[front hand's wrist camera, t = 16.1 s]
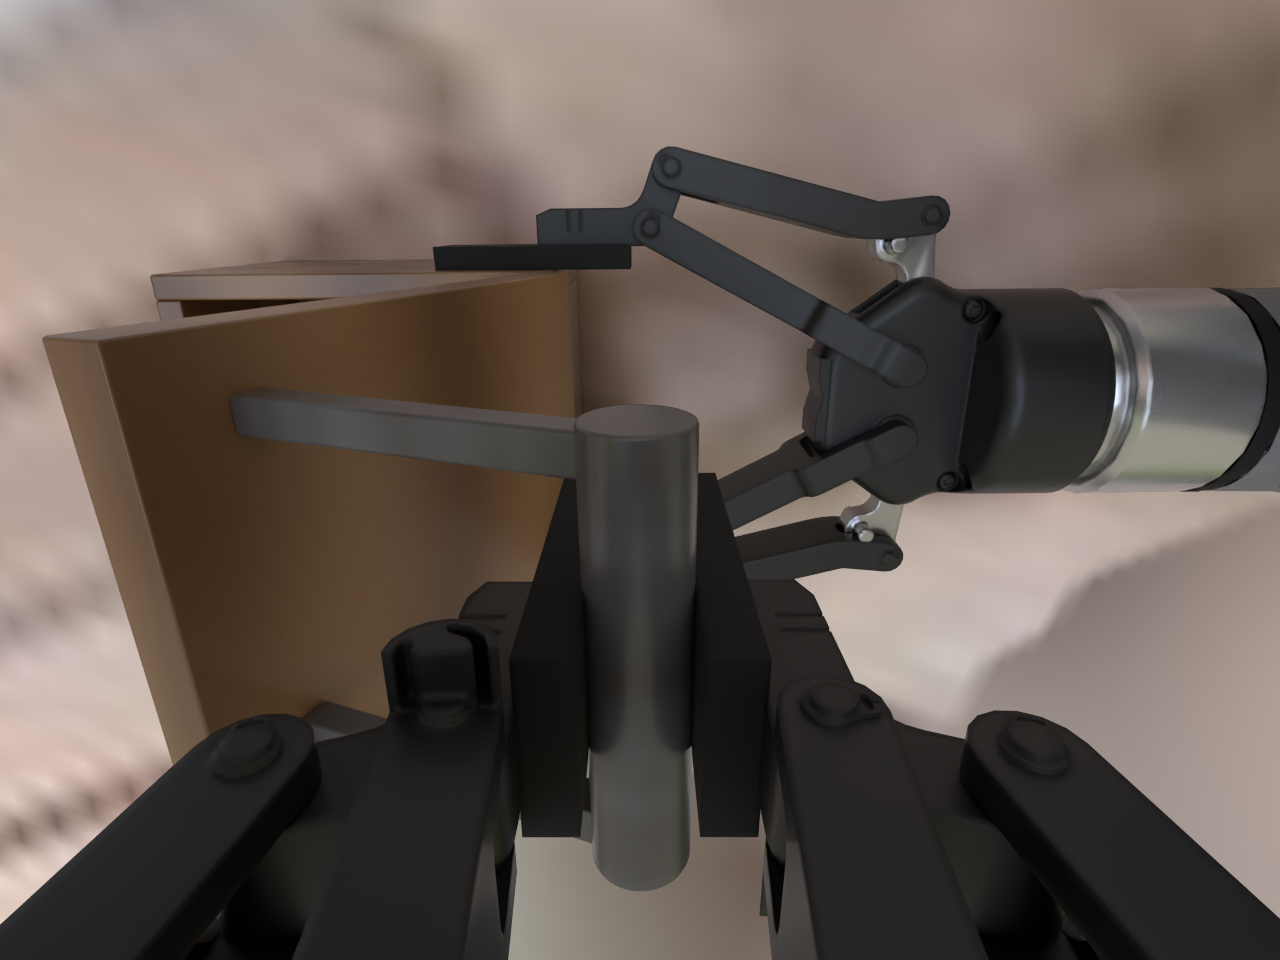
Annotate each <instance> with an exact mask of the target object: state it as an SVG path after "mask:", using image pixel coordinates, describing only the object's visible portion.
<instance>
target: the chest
mask: <svg viewBox="0 0 1280 960" xmlns="http://www.w3.org/2000/svg"><path fill="white" fill-rule="evenodd" d="M534 272H550V273H568V280H569V303H570V326H571V349H572V372H573V396H574V418H577V417H579V416H580V415H582V414H583V401H582V375H581V349H580V323H579V297H578V271H577V270H555V269H543V270H435V262H434V260H347V261H279V262H269V263H260V264H250V265H240V266H231V267H221V268H211V269H202V270H192V271H183V272H173V273H163V274H154V275H151V277H150V278H151V282H152V286H153V290H154V294H155V298H156V300H159V301H157V307H158V311H159V315H160V319H161V321H164V320H172V319H179V318H187V317H195V316H202V315H210V314H218V313H225V312H233V311H241V310H249V309H256V308H264V307H272V306H279V305H287V304H295V303H302V302H310V301H318V300H326V299H333V298H341V297H349V296H356V295H364V294H372V293H379V292H387V291H395V290H403V289H410V288H418V287H426V286H433V285H441V284H449V283H456V282H464V281H472V280H480V279H487V278H495V277H503V276H510V275H518V274H526V273H534Z"/></svg>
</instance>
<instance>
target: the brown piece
mask: <svg viewBox="0 0 1280 960" xmlns="http://www.w3.org/2000/svg"><path fill="white" fill-rule="evenodd" d="M42 340H43V344H44V347H45V350H46V353H47V357H48V360H49V363H50V366H51V370H52V373H53V376H54V379H55V383H56V386H57V389H58V392H59V396H60V399H61V402H62V405H63V409H64V412H65V415H66V418H67V422H68V425H69V428H70V432H71V435H72V438H73V441H74V445H75V448H76V451H77V454H78V458H79V461H80V464H81V467H82V471H83V474H84V477H85V480H86V484H87V487H88V490H89V493H90V497H91V500H92V503H93V506H94V510H95V513H96V516H97V519H98V523H99V526H100V529H101V532H102V536H103V539H104V542H105V545H106V549H107V552H108V555H109V558H110V562H111V565H112V568H113V571H114V575H115V578H116V581H117V584H118V588H119V591H120V594H121V597H122V601H123V604H124V607H125V610H126V614H127V617H128V620H129V623H130V627H131V630H132V633H133V636H134V640H135V643H136V646H137V649H138V653H139V656H140V659H141V662H142V666H143V669H144V672H145V675H146V679H147V682H148V685H149V688H150V692H151V695H152V698H153V701H154V705H155V708H156V711H157V714H158V718H159V721H160V724H161V727H162V731H163V734H164V737H165V740H166V744H167V747H168V750H169V753H170V757H171V760H172V763H173V765H175V764H176V763H177V762H178V761H179V760H180V759H181V758H182V757H183V756H184V755H185V754H187V753H188V752H189V751H190V750H191V749H192V748H193V747H194V746H196V745H197V744H198V743H200V742H201V741H202V740H204V739H205V738H207V737H208V736H209V735H211V734H212V733H214V732H215V731H217V730H219V729H221V728H224V727H226V726H228V725H230V724H232V723H235V722H237V721H239V720H243V719H246V718H251V717H254V716H259V715H263V714H290V715H293V716H297V717H300V718H303V719H305V720H306V721H307V723H308V724H309V725H310V726H311V727H312V728H313V729H314V734H315V739H316V742H319V741H324V740H328V739H333V738H337V737H342V736H346V735H351V734H355V733H359V732H363V731H366V730H369V729H373V728H376V727H378V726H380V725H383V724H385V722H386V720H387V717H388V715H389V712H390V711H389V704H388V697H387V691H386V684H385V677H384V671H383V664H382V658H381V651H382V650H383V648H384V647H385V646H386V645H387V643H388V642H389V641H390V640H391V639H392V638H394V637H395V636H397V635H398V634H400V633H402V632H403V631H405V630H406V629H408V628H411V627H414V626H417V625H420V624H423V623H426V622H429V621H436V620H443V619H459V614H460V611H461V609H462V607H463V605H464V603H465V601H466V599H467V597H468V596H469V595H470V594H472V593H473V592H474V591H476V590H477V589H478V588H479V587H481V586H482V585H483V584H484V583H486V582H533V579H534V575H535V572H536V569H537V565H538V562H539V559H540V556H541V552H542V549H543V546H544V542H545V539H546V536H547V533H548V529H549V526H550V523H551V519H552V516H553V513H554V510H555V506H556V503H557V500H558V496H559V493H560V490H561V487H562V483H563V480H564V479H572V480H576V487H577V510H578V533H579V556H580V578H581V589H582V591H583V593H584V615H585V644H586V673H587V701H588V730H589V754H588V762H589V778H587V777H586V785H585V795H584V805H583V816H582V826H581V836H580V837H574V838H577V839H580V840H583V841H586V842H589V843H592V852H593V858H594V861H595V864H596V866H597V868H598V869H599V871H600V872H601V873H602V875H603V876H604V877H605V878H606V879H608V880H609V881H610V882H611V883H613V884H615V885H617V886H619V887H621V888H624V889H628V890H633V891H649V890H654V889H657V888H660V887H663V886H665V885H667V884H669V883H670V882H672V881H673V880H674V879H675V878H677V877H678V875H679V874H680V873H681V872H682V870H683V869H684V867H685V866H686V863H687V861H688V858H689V853H690V819H691V774H692V747H691V741H692V704H693V667H694V630H695V591H696V545H697V499H698V453H699V422H698V419H697V418H696V417H695V416H694V415H693V414H691V413H689V412H687V411H683V410H680V409H677V408H672V407H666V406H658V405H619V406H610V407H604V408H599V409H595V410H592V411H589V412H586V413H584V414H582V415H580V416H579V417H577V418H574V396H573V372H572V349H571V326H570V303H569V280H568V273H550V272H534V273H526V274H518V275H510V276H503V277H495V278H487V279H480V280H472V281H464V282H456V283H449V284H441V285H433V286H426V287H418V288H410V289H403V290H395V291H387V292H379V293H372V294H364V295H356V296H349V297H341V298H333V299H326V300H318V301H310V302H302V303H295V304H287V305H279V306H272V307H264V308H256V309H249V310H241V311H233V312H225V313H218V314H210V315H202V316H195V317H187V318H179V319H172V320H164V321H156V322H148V323H141V324H133V325H125V326H118V327H110V328H102V329H94V330H87V331H79V332H71V333H64V334H56V335H48V336H45V337H43V339H42ZM519 819H520V820H521V812H520V816H519Z"/></svg>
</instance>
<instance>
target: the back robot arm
mask: <svg viewBox="0 0 1280 960" xmlns="http://www.w3.org/2000/svg"><path fill="white" fill-rule="evenodd" d="M680 195H683V196H687V197H691V198H694V199H698V200H702V201H706V202H710V203H713V204H717V205H721V206H725V207H729V208H732V209H736V210H740V211H744V212H748V213H751V214H755V215H759V216H763V217H767V218H770V219H774V220H778V221H782V222H786V223H790V224H793V225H797V226H801V227H805V228H809V229H812V230H816V231H820V232H824V233H828V234H831V235H836V236H841V237H846V238H858V239H867V251H868V253H869V255H870V256H871V257H872V258H873V259H875V260H877V261H883V262H887V263H889V264H891V265H892V267H893V268H894V269H895V271H896V276H897V279H896V280H894V281H893V282H891V283H890V284H888V285H887V286H886V287H884V288H883V289H881V290H880V291H878V292H877V293H876V294H874V295H873V296H871V297H870V298H869V299H867V300H866V301H864V302H863V303H861V304H860V305H859V306H857V307H856V308H854V309H853V310H851V311H850V312H849V313H847V314H846V313H844V312H842V311H841V310H839V309H837V308H835V307H833V306H831V305H830V304H828V303H826V302H824V301H822V300H820V299H818V298H816V297H815V296H813V295H811V294H809V293H807V292H806V291H804V290H802V289H800V288H798V287H797V286H795V285H793V284H791V283H789V282H788V281H786V280H784V279H782V278H780V277H779V276H777V275H775V274H773V273H771V272H770V271H768V270H766V269H764V268H762V267H761V266H759V265H757V264H755V263H753V262H752V261H750V260H748V259H746V258H744V257H743V256H741V255H739V254H737V253H735V252H734V251H732V250H730V249H728V248H727V247H725V246H723V245H721V244H719V243H718V242H716V241H714V240H712V239H710V238H709V237H707V236H705V235H703V234H701V233H700V232H698V231H696V230H694V229H692V228H691V227H689V226H687V225H685V224H683V223H682V222H680V221H678V220H676V219H674V218H673V215H674V212H675V209H676V206H677V203H678V200H679V198H680ZM949 216H950V209H949V205H948V203H947V202H946V200H945V199H943V198H941V197H940V196H924V197H914V198H904V199H896V200H887V201H875V200H871V199H868V198H864V197H860V196H857V195H853V194H849V193H845V192H842V191H838V190H834V189H831V188H827V187H823V186H819V185H816V184H812V183H808V182H804V181H801V180H797V179H793V178H790V177H786V176H782V175H778V174H775V173H771V172H767V171H763V170H760V169H756V168H752V167H749V166H745V165H741V164H737V163H734V162H730V161H726V160H722V159H719V158H715V157H711V156H708V155H704V154H700V153H696V152H693V151H689V150H685V149H681V148H678V147H666V148H663V149H661V150H660V151H659V152H658V153H657V154H656V155H655V157H654V160H653V162H652V165H651V168H650V171H649V175H648V178H647V181H646V184H645V187H644V190H643V192H642V194H641V196H640V198H639V199H638V200H637V201H636V202H635V203H634V204H632V205H631V206H628V207H625V208H576V209H549V210H547V211H545V212H543V213H540V214H538V215H536V221H537V238H538V244H505V245H449V246H440V247H433V252H434V262H435V270H543V269H555V270H586V269H631V265H632V264H631V246H646V247H648V248H649V249H651V250H653V251H655V252H657V253H659V254H660V255H662V256H664V257H666V258H668V259H670V260H671V261H673V262H675V263H677V264H679V265H681V266H682V267H684V268H686V269H688V270H690V271H692V272H693V273H695V274H697V275H699V276H701V277H703V278H704V279H706V280H708V281H710V282H712V283H714V284H715V285H717V286H719V287H721V288H723V289H725V290H726V291H728V292H730V293H732V294H734V295H736V296H737V297H739V298H741V299H743V300H745V301H747V302H748V303H750V304H752V305H754V306H756V307H758V308H759V309H761V310H763V311H765V312H767V313H769V314H770V315H772V316H774V317H776V318H778V319H780V320H781V321H783V322H785V323H787V324H789V325H791V326H792V327H794V328H796V329H798V330H800V331H801V332H803V333H805V334H807V335H808V336H810V337H812V338H814V339H816V341H815V343H814V345H813V347H812V349H808V351H807V365H806V370H807V375H808V380H809V385H810V391H809V394H808V397H807V399H806V402H805V405H804V408H803V420H802V428H803V429H804V430H805V432H804V433H802V434H800V435H798V436H796V437H794V438H792V439H790V440H788V441H786V442H785V443H784V444H782V446H781V447H780V448H779V449H778V450H777V451H775V452H773V453H771V454H769V455H767V456H765V457H763V458H761V459H759V460H757V461H755V462H753V463H751V464H749V465H747V466H745V467H743V468H741V469H739V470H737V471H735V472H733V473H731V474H729V475H727V476H725V477H723V478H721V479H719V480H717V481H718V484H719V487H720V491H721V494H722V497H723V500H724V504H725V507H726V510H727V514H728V517H729V520H730V524H731V527H732V530H735V529H737V528H739V527H741V526H743V525H745V524H747V523H749V522H751V521H753V520H755V519H758V518H760V517H762V516H764V515H766V514H768V513H770V512H772V511H774V510H776V509H778V508H780V507H782V506H784V505H787V504H789V503H791V502H793V501H795V500H797V499H799V498H801V497H805V496H807V497H814V496H818V495H820V494H823V493H825V492H827V491H829V490H831V489H833V488H835V487H837V486H839V485H841V484H843V483H846V482H848V481H850V480H853V481H854V482H855V483H857V484H858V485H860V486H861V487H862V488H864V489H865V490H866V491H868V492H869V493H871V496H870V498H869V499H868V501H866V502H865V503H864V504H862V505H859V506H853V507H850V506H849V507H846V508H845V509H844V510H843V512H842V514H841V516H829V517H819V518H814V519H809V520H805V521H800V522H796V523H792V524H788V525H783V526H779V527H775V528H771V529H766V530H762V531H758V532H754V533H750V534H745V535H741V536H737V537H735V540H736V543H737V547H738V550H739V553H740V556H741V560H742V563H743V566H744V570H745V573H746V576H747V579H796V578H800V577H805V576H809V575H814V574H818V573H822V572H827V571H831V570H835V569H840V568H850V569H862V570H874V571H891V570H893V569H896V568H897V567H898V566H899V565H900V564H901V562H902V560H903V552H902V550H901V548H900V547H899V546H898V545H897V543H896V542H895V538H896V534H897V529H898V525H899V521H900V517H901V513H902V509H903V505H904V504H907V503H910V502H912V501H914V500H916V499H918V498H920V497H922V496H925V495H928V494H931V493H936V492H949V493H966V494H975V493H1049V492H1055V491H1058V490H1061V489H1063V490H1066V491H1070V492H1074V493H1106V492H1153V491H1182V492H1198V491H1274V492H1280V288H1250V289H1223V288H1092V289H1083V290H1081V291H1078V292H1073V291H1071V290H1067V289H1061V288H1039V289H954V288H951V287H949V286H947V285H946V284H944V283H943V282H941V281H939V280H937V279H935V278H934V266H935V237H936V233H938V232H939V231H941V230H942V229H943V228H944V227H945V226H946V224H947V222H948V221H949Z"/></svg>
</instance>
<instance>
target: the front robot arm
mask: <svg viewBox="0 0 1280 960" xmlns="http://www.w3.org/2000/svg"><path fill="white" fill-rule="evenodd" d="M381 658H382V664H383V671H384V677H385V684H386V691H387V697H388V704H389V711H390V712H389V715H388V717H387V720H386V722H385V724H383V725H380V726H378V727H376V728H373V729H369V730H366V731H363V732H359V733H355V734H351V735H346V736H342V737H337V738H333V739H328V740H324V741H319V742H316V739H315V734H314V729H313V728H312V727H311V726H310V725H309V724H308V723H307V721H306V720H305V719H303V718H300V717H297V716H293V715H290V714H263V715H259V716H254V717H251V718H246V719H243V720H239V721H237V722H235V723H232V724H230V725H228V726H226V727H224V728H221V729H219V730H217V731H215V732H214V733H212V734H211V735H209V736H208V737H207V738H205V739H204V740H202V741H201V742H200V743H198V744H197V745H196V746H194V747H193V748H192V749H191V750H190V751H189V752H188V753H187V754H185V755H184V756H183V757H182V758H181V759H180V760H179V761H178V762H177V763H176V764H175V765H173V766H172V767H171V768H170V769H169V770H168V771H167V772H166V773H165V774H164V775H163V776H162V777H160V778H159V779H158V780H157V781H156V782H155V783H154V784H153V785H152V786H151V787H150V788H148V789H147V790H146V791H145V792H144V793H143V794H142V795H141V796H140V797H139V798H138V799H136V800H135V801H134V802H133V803H132V804H131V805H130V806H129V807H128V808H127V809H126V810H125V811H123V812H122V813H121V814H120V815H119V816H118V817H117V818H116V819H115V820H114V821H113V822H111V823H110V824H109V825H108V826H107V827H106V828H105V829H104V830H103V831H102V832H101V833H99V834H98V835H97V836H96V837H95V838H94V839H93V840H92V841H91V842H90V843H89V844H88V845H86V846H85V847H84V848H83V849H82V850H81V851H80V852H79V853H78V854H77V855H76V856H74V857H73V858H72V859H71V860H70V861H69V862H68V863H67V864H66V865H65V866H64V867H63V868H61V869H60V870H59V871H58V872H57V873H56V874H55V875H54V876H53V877H52V878H51V879H49V880H48V881H47V882H46V883H45V884H44V885H43V886H42V887H41V888H40V889H39V890H37V891H36V892H35V893H34V894H33V895H32V896H31V897H30V898H29V899H28V900H27V901H26V902H24V903H23V904H22V905H21V906H20V907H19V908H18V909H17V910H16V911H15V912H14V913H12V914H11V915H10V916H9V917H8V918H7V919H6V920H5V921H4V922H3V923H2V924H0V960H508V955H509V945H510V935H511V925H512V914H513V905H514V894H515V884H516V874H517V868H516V855H515V843H514V840H515V835H516V830H517V826H518V821H519V816H520V812H521V825H522V837H580V836H581V826H582V816H583V805H584V795H585V785H586V775H587V765H588V754H589V730H588V701H587V673H586V644H585V615H584V593H583V591H582V589H581V578H580V556H579V533H578V510H577V487H576V480H572V479H564V480H563V483H562V487H561V490H560V493H559V496H558V500H557V503H556V506H555V510H554V513H553V516H552V519H551V523H550V526H549V529H548V533H547V536H546V539H545V542H544V546H543V549H542V552H541V556H540V559H539V562H538V565H537V569H536V572H535V575H534V579H533V582H486V583H484V584H483V585H482V586H481V587H479V588H478V589H477V590H476V591H474V592H473V593H472V594H470V595H469V596H468V597H467V599H466V601H465V603H464V605H463V607H462V609H461V611H460V614H459V619H443V620H436V621H429V622H426V623H423V624H420V625H417V626H414V627H411V628H408V629H406V630H405V631H403V632H402V633H400V634H398V635H397V636H395V637H394V638H392V639H391V640H390V641H389V642H388V643H387V645H386V646H385V647H384V648H383V650H382V651H381ZM691 747H692V758H693V768H694V778H695V788H696V799H697V809H698V819H699V829H700V837H758V833H759V820H760V809H761V814H762V819H763V824H764V828H765V833H766V843H765V855H764V867H763V880H762V892H761V904H760V916H768V923H769V934H770V944H771V954H772V960H1280V918H1279V917H1277V916H1276V915H1275V914H1274V913H1273V912H1272V911H1271V910H1270V909H1269V908H1268V907H1266V906H1265V905H1264V904H1263V903H1262V902H1261V901H1260V900H1259V899H1258V898H1257V897H1256V896H1254V895H1253V894H1252V893H1251V892H1250V891H1249V890H1248V889H1247V888H1246V887H1245V886H1243V885H1242V884H1241V883H1240V882H1239V881H1238V880H1237V879H1236V878H1235V877H1234V876H1232V875H1231V874H1230V873H1229V872H1228V871H1227V870H1226V869H1225V868H1224V867H1223V866H1222V865H1220V864H1219V863H1218V862H1217V861H1216V860H1215V859H1214V858H1213V857H1212V856H1211V855H1209V854H1208V853H1207V852H1206V851H1205V850H1204V849H1203V848H1202V847H1201V846H1199V845H1198V844H1197V843H1196V842H1195V841H1194V840H1193V839H1192V838H1191V837H1190V836H1189V835H1187V834H1186V833H1185V832H1184V831H1183V830H1182V829H1181V828H1180V827H1179V826H1178V825H1176V824H1175V823H1174V822H1173V821H1172V820H1171V819H1170V818H1169V817H1168V816H1167V815H1166V814H1164V813H1163V812H1162V811H1161V810H1160V809H1159V808H1158V807H1157V806H1156V805H1155V804H1153V803H1152V802H1151V801H1150V800H1149V799H1148V798H1147V797H1146V796H1145V795H1144V794H1143V793H1141V792H1140V791H1139V790H1138V789H1137V788H1136V787H1135V786H1134V785H1133V784H1132V783H1130V782H1129V781H1128V780H1127V779H1126V778H1125V777H1124V776H1123V775H1122V774H1121V773H1120V772H1118V771H1117V770H1116V769H1115V768H1114V767H1113V766H1112V765H1111V764H1110V763H1109V762H1107V761H1106V760H1105V759H1104V758H1103V757H1102V756H1101V755H1100V754H1099V753H1098V752H1096V751H1095V750H1094V749H1093V748H1092V747H1091V746H1090V745H1089V744H1088V743H1086V742H1085V741H1084V740H1082V739H1081V738H1079V737H1078V736H1077V735H1075V734H1074V733H1072V732H1071V731H1070V730H1068V729H1067V728H1065V727H1063V726H1060V725H1058V724H1056V723H1054V722H1051V721H1049V720H1047V719H1045V718H1043V717H1039V716H1035V715H1032V714H1028V713H1023V712H1019V711H991V712H988V713H985V714H981V715H978V716H977V717H976V718H975V719H974V720H973V721H972V722H971V723H970V724H969V725H968V728H967V733H966V738H965V739H962V738H957V737H953V736H948V735H944V734H939V733H934V732H930V731H925V730H922V729H918V728H915V727H911V726H908V725H905V724H903V723H900V722H898V721H896V720H894V719H893V716H892V714H891V711H890V710H889V708H888V707H887V705H886V704H885V702H884V701H883V700H882V698H881V697H880V696H879V695H877V694H876V693H874V692H873V691H872V690H870V689H869V688H867V687H866V686H865V685H862V684H860V683H857V682H855V681H854V679H853V677H852V675H851V673H850V671H849V669H848V666H847V664H846V662H845V660H844V658H843V656H842V654H841V652H840V649H839V647H838V645H837V643H836V641H835V639H834V637H833V635H832V633H831V632H829V626H828V624H827V622H826V620H825V618H824V616H822V611H821V609H820V607H819V605H818V603H817V601H816V599H815V596H814V595H813V594H812V593H811V592H810V591H808V590H807V589H806V588H804V587H803V586H802V585H801V584H799V583H798V582H797V581H796V580H794V579H747V576H746V573H745V570H744V566H743V563H742V560H741V556H740V553H739V550H738V547H737V543H736V540H735V537H734V533H733V530H732V527H731V524H730V520H729V517H728V514H727V510H726V507H725V504H724V500H723V497H722V494H721V491H720V487H719V484H718V481H717V477H716V474H715V473H698V499H697V545H696V591H695V630H694V667H693V704H692V741H691Z"/></svg>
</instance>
